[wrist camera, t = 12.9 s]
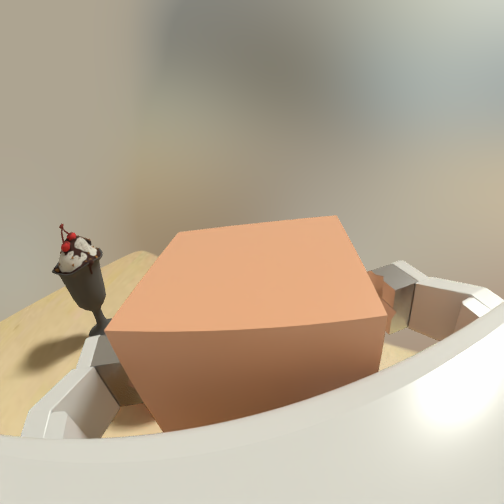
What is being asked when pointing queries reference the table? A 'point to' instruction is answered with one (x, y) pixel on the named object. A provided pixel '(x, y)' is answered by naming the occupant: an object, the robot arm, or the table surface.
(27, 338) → the table surface
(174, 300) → the terracotta brick
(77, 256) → the sundae
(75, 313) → the table surface
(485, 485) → the robot arm
